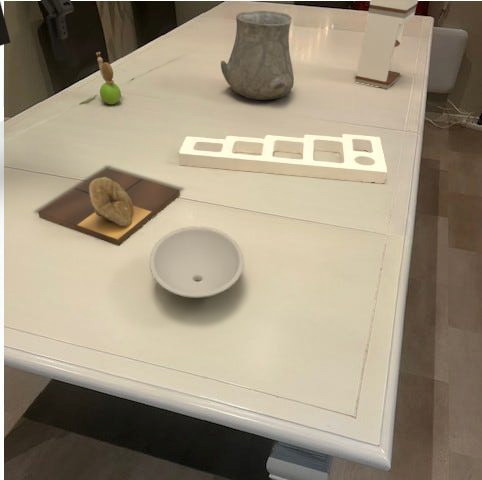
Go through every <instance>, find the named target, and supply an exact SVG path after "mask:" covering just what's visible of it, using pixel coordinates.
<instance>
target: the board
mask: <svg viewBox="0 0 482 480" xmlns="http://www.w3.org/2000/svg"><path fill="white" fill-rule="evenodd" d="M103 177H107V178H109V179H111V180H112V181H114V182H116V183H118V184H119V185H120V187H121V188H122V189H124V190H125V192H126V193H127V194H128V196H129V197H130V199H131V201H132V204H133V213H132V214H131V218H132V222H131V224H130V225H129V226H120V225H118V224H116V223H114V222H113V221H110V220H106V219H105V218H103V217H101V216H98V215H97V214H96V213H95V210H94V207H93V205H92V203H91V197H90V193H89V186H90V183H91V182H92V181H93V180H94V179H97V178H103ZM180 196H181V190H180V189H178V188H175V187H172V186H169V185H165V184H162V183H159V182H155V181H151V180H149V179H145V178H141V177H138V176H135V175H131V174H129V173H125V172H122V171H118V170H115V169H112V168H109V167H106V168H105V169H103V170H101V171H100V172H98V173H97V174H95V175H94V176H92V177H90V178H89V179H87V180H85V181H84V182H82V183H81V184H79V185H77V186H76V187H74V188H73V189H72V190H70V191H68V192H67V193H65V194H64V195H62V196H60V197H59V198H57V199H56V200H54V201H53V202H51V203H50V204H48V205H46V206H45V207H43V208H41V209H40V210H39V211H37V213H38V217H39V218H41V219H44V220H46V221H49V222H52V223H55V224H57V225H60V226H63V227H65V228H69V229H71V230H74V231H77V232H80V233H83V234H86V235H88V236H91V237H94V238H97V239H99V240H102V241H105V242H108V243H111V244H113V245H116V246H120V245H121V244H122V243H123V242H125V241H126V240H127V239H129V238H130V237H131V236H133V234H135V233H136V232H137V231H138V230H139V229H141V228H142V227H143V226H144V225H145V224H147V223H148V222H149V221H150V220H151V219H153V218H154V217H155V216H156V215H158V214H159V213H160V212H161V211H162V210H164V209H165V208H166V207H167V206H169V205H170V204H171V203H173V201H174V200H176V199H177V198H178V197H180Z"/></svg>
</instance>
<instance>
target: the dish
mask: <svg viewBox="0 0 482 480" xmlns="http://www.w3.org/2000/svg"><path fill="white" fill-rule="evenodd" d="M148 260H149V263H148V264H149V270H150V273H151V275H152V276H153V278H154V280H155V282H156V283H157V284H158V285H159V286H161V288H163V289H164V290H166V291H167V292H169V293H171V294H174V295H177V296H180V297H184V298H193V299H197V298H198V299H199V298H200V299H201V298H209V297H213V296H216V295H219V294H221V293H223V292H225V291H228V289H230V288H231V287H232V286H233V285H234V284H236V282H237V281H238V280H239V279H240V277H241V275H242V273H243V270H244V265H245V257H244V254H243V250H242V248H241V246H240V245H239V243H238V242H237V241H236V240H235V239H234V238H233V237H232V236H230V235H229V234H228V233H226V232H225V231H224V232H223V231H222V230H220V229H217V228H213V227H209V226H203V225H202V226H201V225H193V226H186V227H180V228H178V229H175V230H172V231H170V232H168V233H167V234H165V235H163V236H162V237H161V238H160V239H159V240H158V241H157V242H156V243H155V245H154V246H153V248H152V250H151V252H150V255H149V259H148Z"/></svg>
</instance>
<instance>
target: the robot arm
mask: <svg viewBox="0 0 482 480" xmlns="http://www.w3.org/2000/svg"><path fill="white" fill-rule="evenodd" d="M40 2H41V3H42V5H43V6H44V9H46V11H47V12H48V15H47V16H46V22H47V28H48V33H49V37H50V42H51V43H50V44H51V48H52V52H53V53H52V54H53V58H54V61H55V62H60V61H64V60H66V59H69V58H70V53H69V48H68V47H69V46H68V43H67V39H68V37H69V36H68V35H69V34H68V33H69V32H68V29H67V22H66V15H67V14H70V13H73V12H74V11H75V7H74V5H73V3H72V0H40ZM10 43H11V39H10V34H9V31H8V26H7V23H6V19H5V15H4V11H3V7H2V3H1V1H0V47H1V46H5V45H7V44H10Z"/></svg>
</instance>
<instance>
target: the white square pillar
mask: <svg viewBox="0 0 482 480" xmlns="http://www.w3.org/2000/svg"><path fill="white" fill-rule="evenodd" d="M418 3H419V0H370V1H369V7H368V11H367V15H366V22H365V26H364V27H365V28H364V32H363V37H362V42H361V47H360V52H359V53H360V54H359V59H358V63H357V68H356V69H357V70H356V74H355V80H354V83H355V82H359V83H364V84H369V85H373V86H378V87H382V88H387V89H388V88H389V87H390V86H391V85H392V84H393V83H394V82H395V81H396V82H397V81H399V79H400V75H401V73H400V72H398V71H392V70H390V68H391V64H392V60H393V55H394V50H395V48H396V47H399V46H400V45H401V41H402V37H403V33H404V28H405V25H406V23H407V22H408V21H410V20H411V19H413V18H414V17H415V14H416V9H417V7H418ZM396 82H395V83H396ZM359 83H358V84H359ZM395 83H394V84H395ZM364 84H363V85H364ZM394 84H393V85H394ZM393 85H392V86H393ZM373 86H372V87H373ZM392 86H391V87H392ZM378 87H377V88H378ZM391 87H390V88H391ZM382 88H381V89H382ZM390 88H389V89H390ZM387 89H386V90H387ZM389 89H388V90H389Z"/></svg>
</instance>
